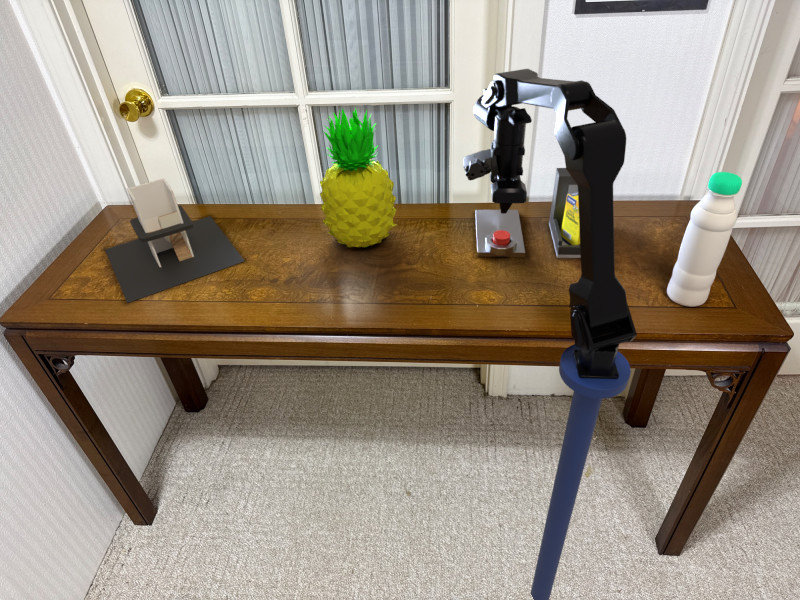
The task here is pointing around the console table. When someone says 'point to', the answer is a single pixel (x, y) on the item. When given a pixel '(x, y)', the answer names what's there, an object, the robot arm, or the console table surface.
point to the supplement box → (571, 220)
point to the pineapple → (356, 185)
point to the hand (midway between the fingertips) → (503, 212)
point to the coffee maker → (562, 213)
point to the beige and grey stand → (167, 245)
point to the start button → (501, 238)
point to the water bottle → (705, 241)
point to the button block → (494, 222)
